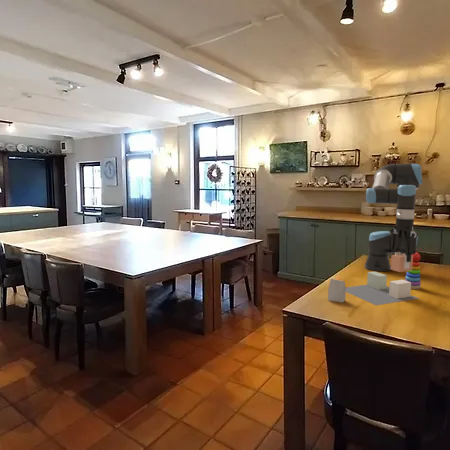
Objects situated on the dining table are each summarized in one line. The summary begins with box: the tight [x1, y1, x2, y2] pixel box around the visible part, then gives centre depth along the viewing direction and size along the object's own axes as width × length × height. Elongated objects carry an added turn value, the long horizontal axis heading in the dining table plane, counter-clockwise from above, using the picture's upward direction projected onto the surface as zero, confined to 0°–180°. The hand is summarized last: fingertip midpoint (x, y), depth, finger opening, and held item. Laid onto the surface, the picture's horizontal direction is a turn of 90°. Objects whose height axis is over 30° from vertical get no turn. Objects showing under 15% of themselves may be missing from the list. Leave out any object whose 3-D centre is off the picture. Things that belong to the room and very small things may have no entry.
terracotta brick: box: [390, 254, 413, 273], centre depth 173 cm, size 8×5×7 cm, turn 111°
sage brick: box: [366, 271, 388, 290], centre depth 188 cm, size 8×5×7 cm, turn 21°
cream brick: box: [389, 279, 412, 299], centre depth 175 cm, size 8×5×7 cm, turn 111°
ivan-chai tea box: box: [327, 278, 347, 303], centre depth 169 cm, size 4×7×10 cm, turn 49°
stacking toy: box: [404, 251, 422, 290], centre depth 189 cm, size 8×8×19 cm
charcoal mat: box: [345, 284, 420, 306], centre depth 179 cm, size 26×26×1 cm
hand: (401, 266), depth 173 cm, fingers closed on terracotta brick, 5 cm apart
